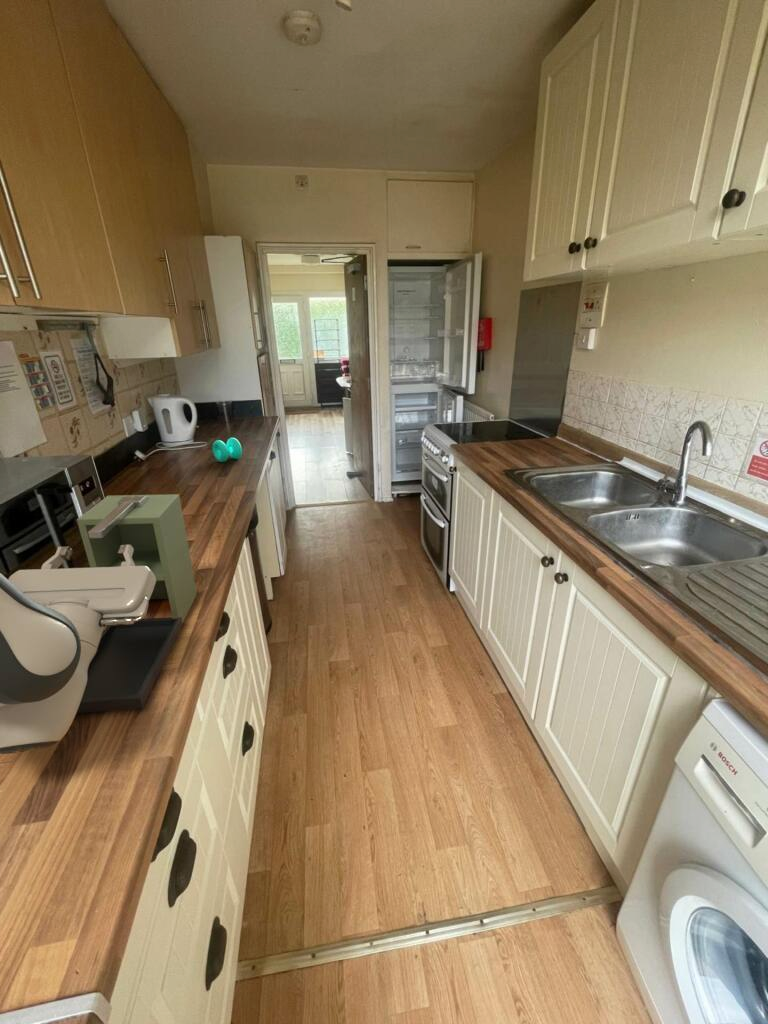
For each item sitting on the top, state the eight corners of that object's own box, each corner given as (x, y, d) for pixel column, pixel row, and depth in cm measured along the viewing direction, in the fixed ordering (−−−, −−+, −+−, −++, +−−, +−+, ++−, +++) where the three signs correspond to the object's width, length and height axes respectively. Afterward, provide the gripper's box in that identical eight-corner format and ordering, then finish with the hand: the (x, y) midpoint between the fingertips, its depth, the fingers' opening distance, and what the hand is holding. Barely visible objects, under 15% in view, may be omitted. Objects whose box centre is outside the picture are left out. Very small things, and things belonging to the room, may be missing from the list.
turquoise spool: (212, 460, 197) (209, 439, 193) (232, 456, 204) (229, 435, 200) (224, 464, 191) (221, 442, 187) (244, 460, 198) (241, 439, 194)
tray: (52, 715, 68) (48, 704, 67) (113, 629, 87) (110, 620, 86) (142, 708, 70) (139, 698, 69) (183, 625, 89) (181, 616, 88)
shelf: (108, 631, 87) (76, 519, 77) (133, 597, 98) (107, 495, 88) (180, 627, 88) (158, 517, 78) (196, 594, 99) (179, 494, 89)
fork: (109, 537, 71) (107, 531, 70) (82, 538, 70) (81, 532, 70) (150, 498, 87) (149, 492, 86) (129, 498, 86) (128, 493, 86)
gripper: (135, 615, 61) (156, 535, 69) (-23, 622, 59) (19, 538, 67) (150, 631, 66) (169, 555, 74) (6, 639, 64) (41, 559, 72)
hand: (97, 547), depth 71 cm, fingers open, 8 cm apart
